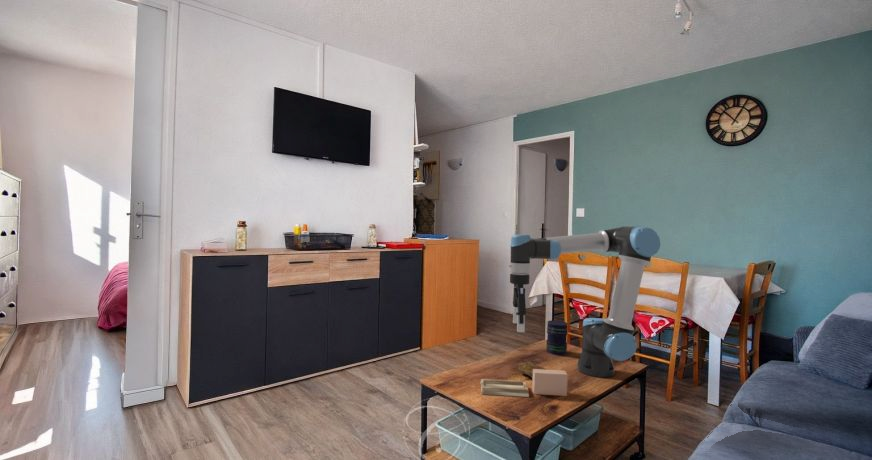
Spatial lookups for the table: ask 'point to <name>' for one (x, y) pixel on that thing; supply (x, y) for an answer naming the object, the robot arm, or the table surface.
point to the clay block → (549, 382)
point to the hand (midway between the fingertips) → (518, 327)
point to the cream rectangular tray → (504, 387)
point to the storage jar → (556, 337)
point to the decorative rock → (528, 368)
